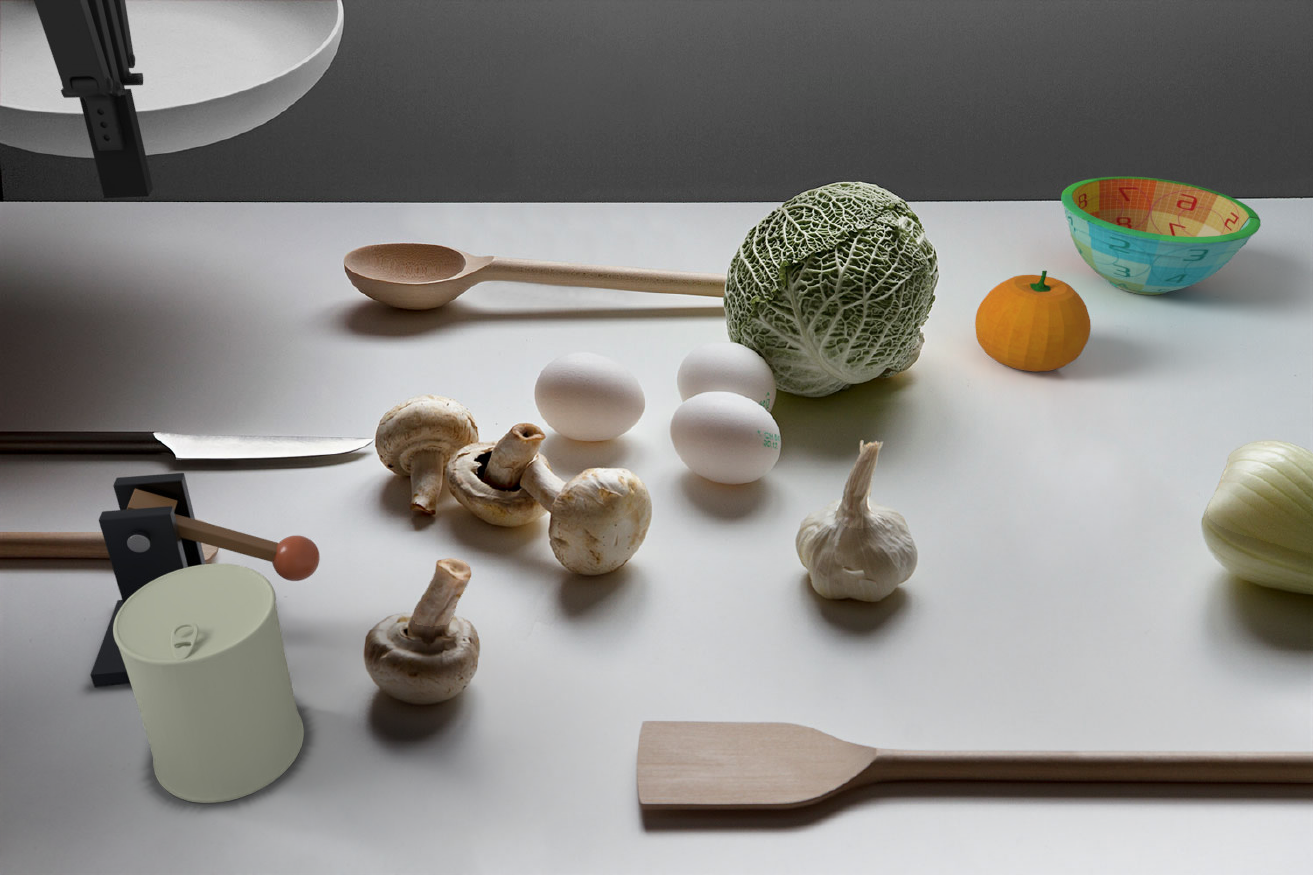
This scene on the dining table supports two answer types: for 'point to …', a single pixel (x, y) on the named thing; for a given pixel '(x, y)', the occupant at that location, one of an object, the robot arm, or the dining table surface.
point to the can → (211, 681)
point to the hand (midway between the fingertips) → (128, 193)
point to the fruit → (1033, 323)
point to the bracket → (142, 553)
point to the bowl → (1155, 231)
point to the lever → (241, 540)
